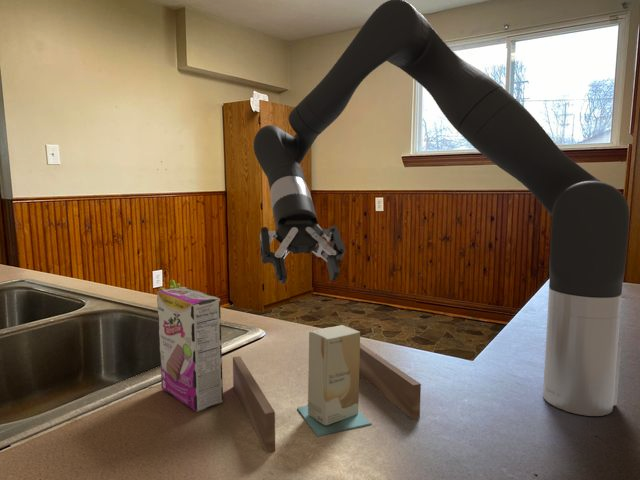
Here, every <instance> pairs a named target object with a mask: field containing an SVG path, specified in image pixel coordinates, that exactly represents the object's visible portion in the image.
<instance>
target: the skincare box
mask: <svg viewBox="0 0 640 480" xmlns="http://www.w3.org/2000/svg"><path fill="white" fill-rule="evenodd" d="M360 343H361V331H359V330H357V329H355V328H352V327H349V326H346V325H343V324H340V325H336V326H329V327H325V328H320V329H315V330H310V331H308V375H307V376H308V380H307V382H308V383H307V384H308V386H307V387H308V388H307V406H308V414H309V415H310V416H312V417H313V418H314V419H316V420H317V421H319V422H320V423H322V424H323V425H329V424H332V423H335V422H338V421H340V420H343V419H346V418H348V417H351V416H354V415H356V414H358V410H359V402H360V401H359V399H360V398H359V393H360V375H359V361H360Z"/></svg>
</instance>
